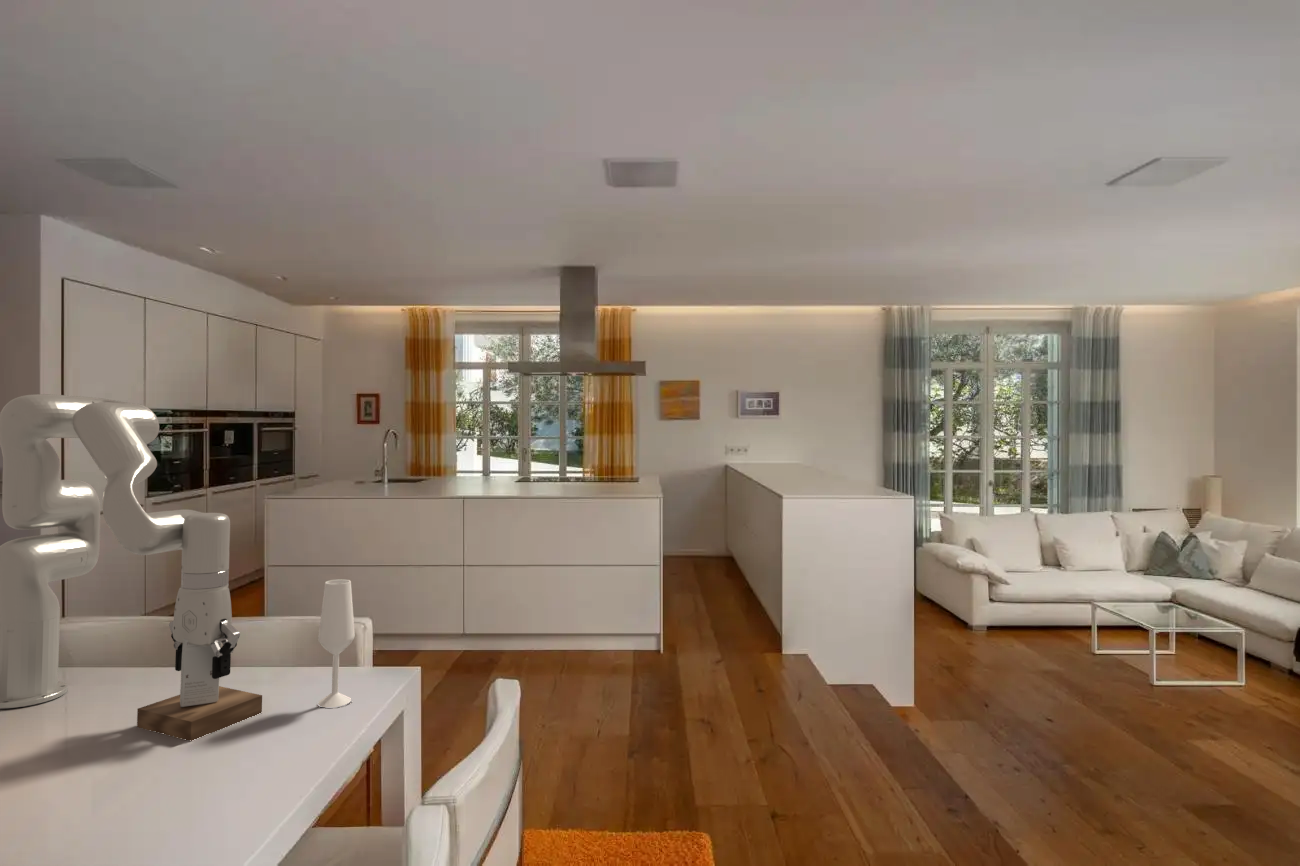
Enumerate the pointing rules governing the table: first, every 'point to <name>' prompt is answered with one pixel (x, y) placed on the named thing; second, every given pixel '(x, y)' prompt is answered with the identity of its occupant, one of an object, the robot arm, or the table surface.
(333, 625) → the champagne flute
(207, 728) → the walnut base
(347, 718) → the table surface
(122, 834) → the table surface
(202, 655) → the skincare box
